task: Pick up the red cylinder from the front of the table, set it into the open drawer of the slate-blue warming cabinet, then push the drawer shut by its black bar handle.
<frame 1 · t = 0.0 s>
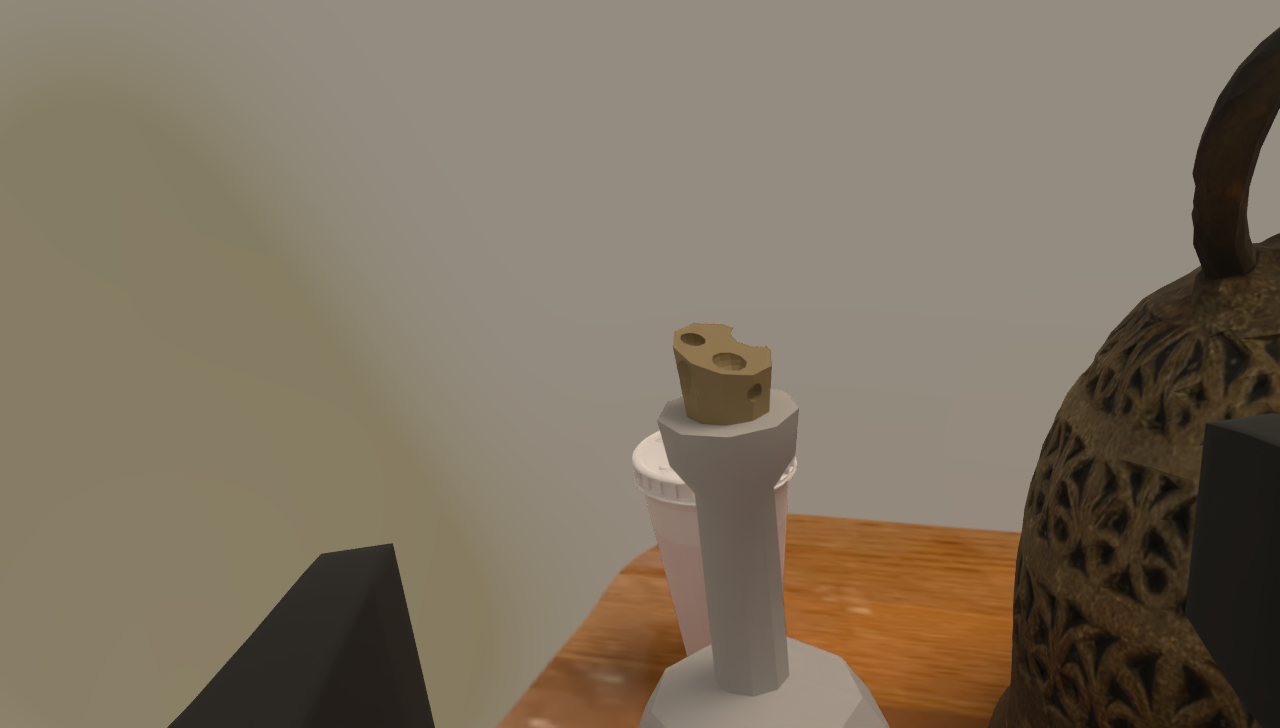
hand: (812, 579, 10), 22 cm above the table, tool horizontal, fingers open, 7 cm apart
smoothie: (734, 665, 46), on the table
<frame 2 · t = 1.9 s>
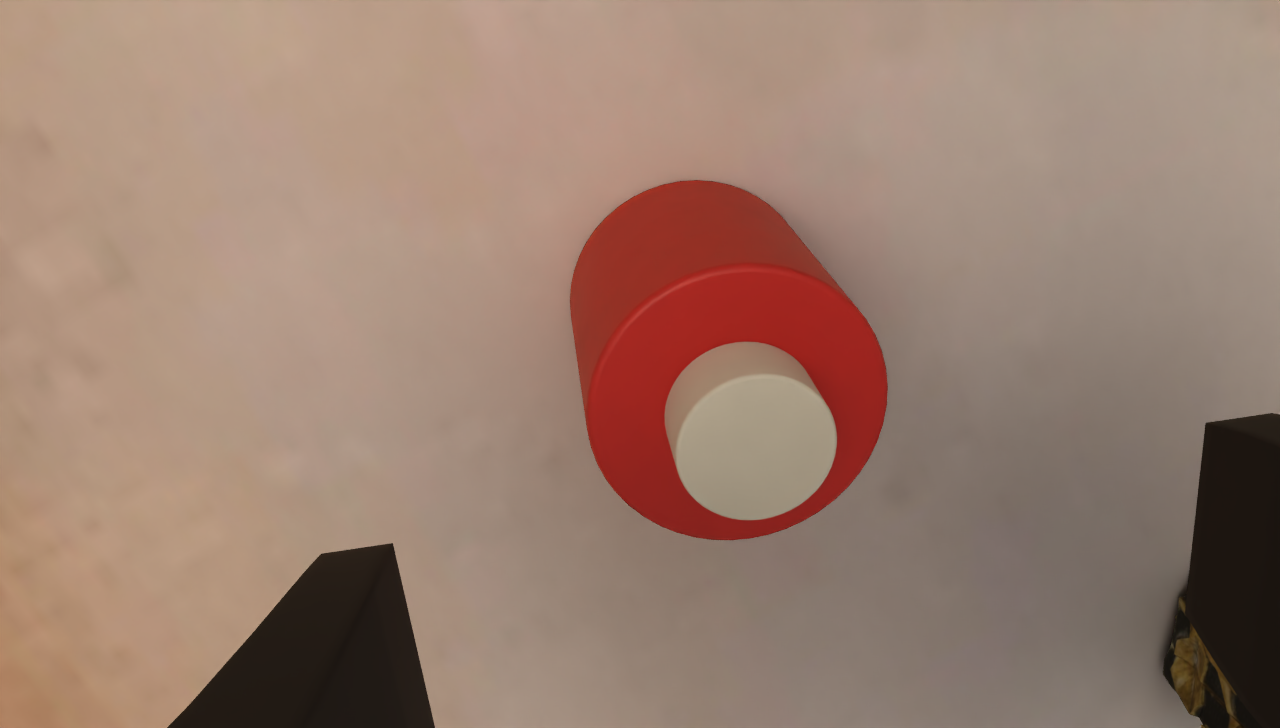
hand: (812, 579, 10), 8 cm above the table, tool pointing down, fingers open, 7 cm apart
red cylinder: (689, 297, 17), on the table
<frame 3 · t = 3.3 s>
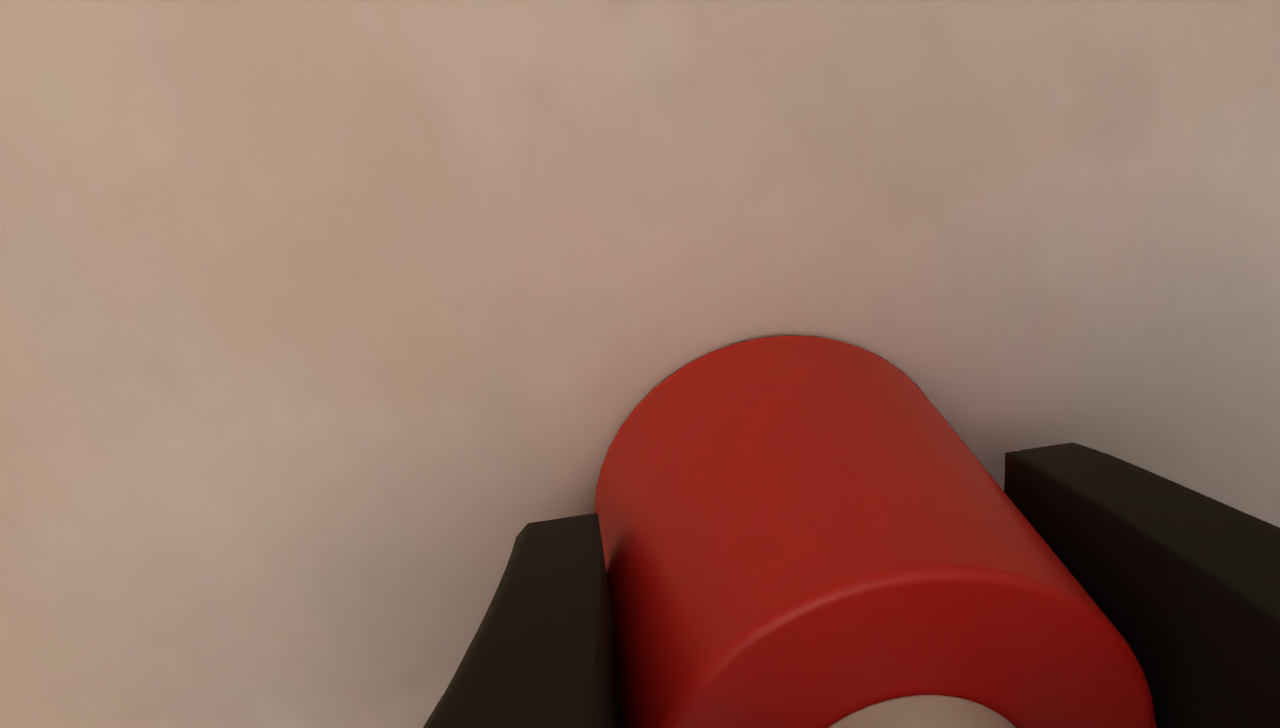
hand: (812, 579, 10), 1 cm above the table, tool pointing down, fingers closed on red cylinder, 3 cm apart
red cylinder: (774, 500, 11), on the table, touching gripper
when the fingers open (7 cm above the table, at t = 9.4 s): red cylinder stays where it is, resting on drawer.
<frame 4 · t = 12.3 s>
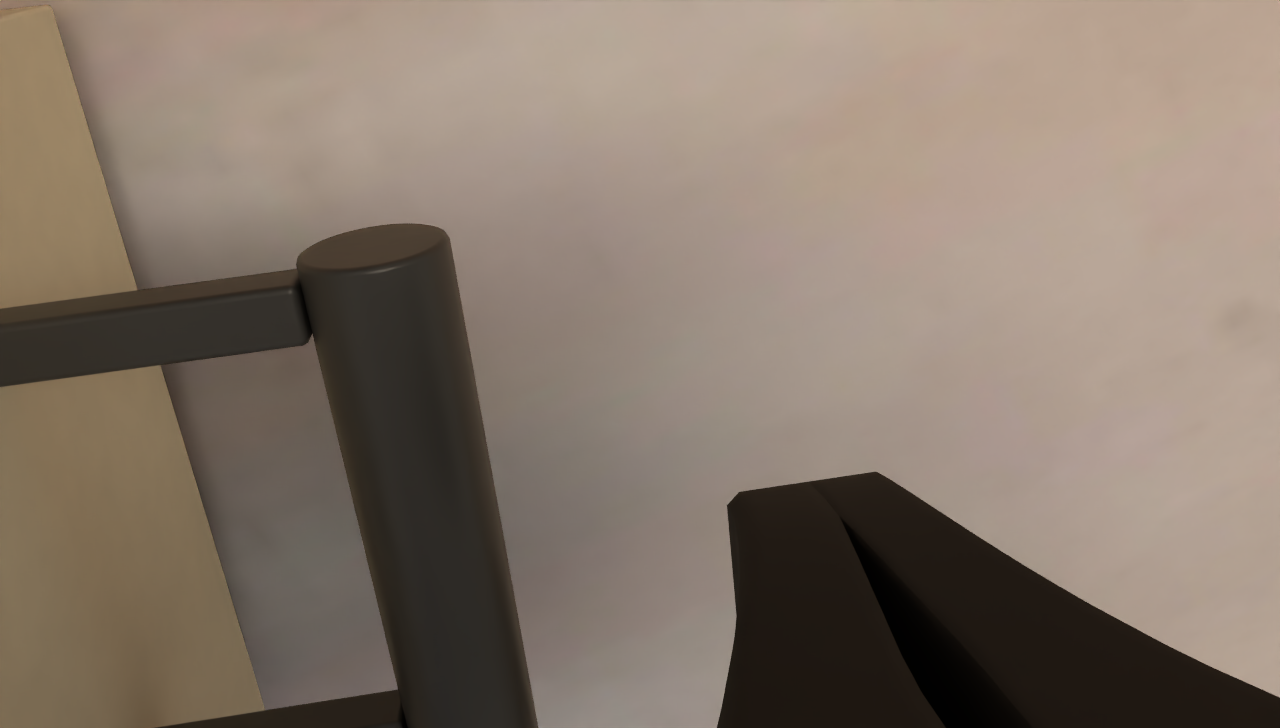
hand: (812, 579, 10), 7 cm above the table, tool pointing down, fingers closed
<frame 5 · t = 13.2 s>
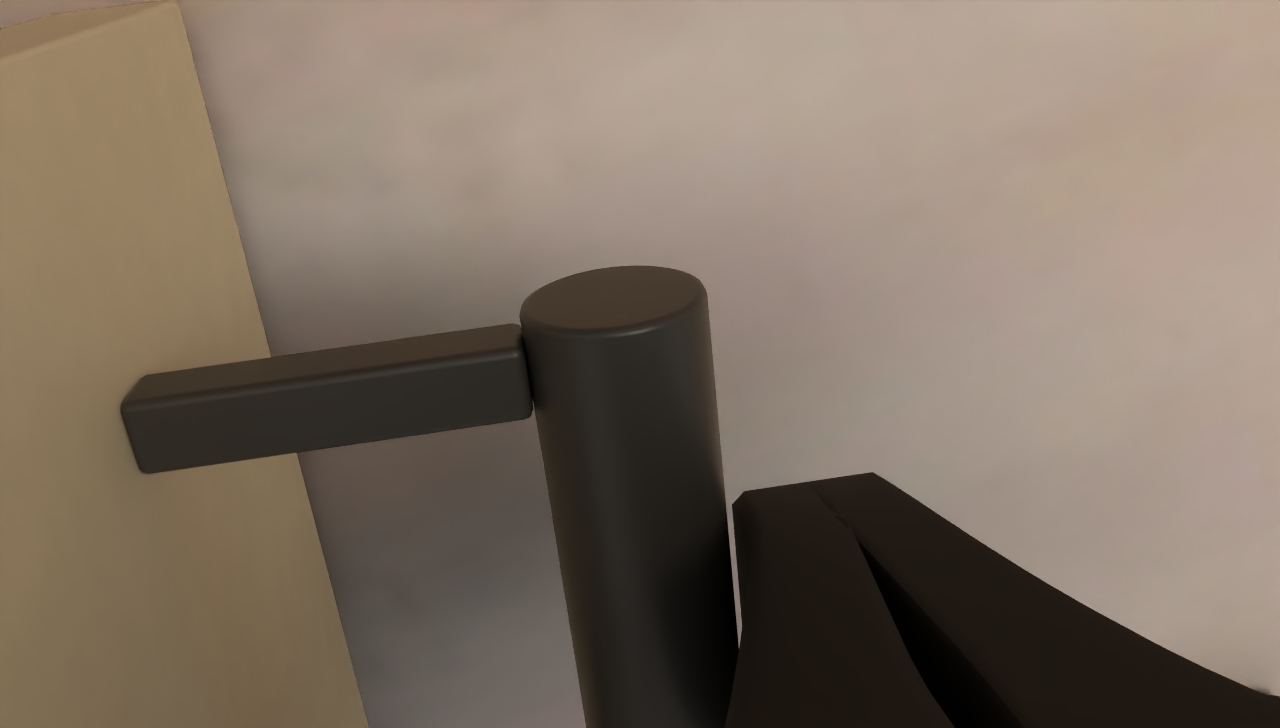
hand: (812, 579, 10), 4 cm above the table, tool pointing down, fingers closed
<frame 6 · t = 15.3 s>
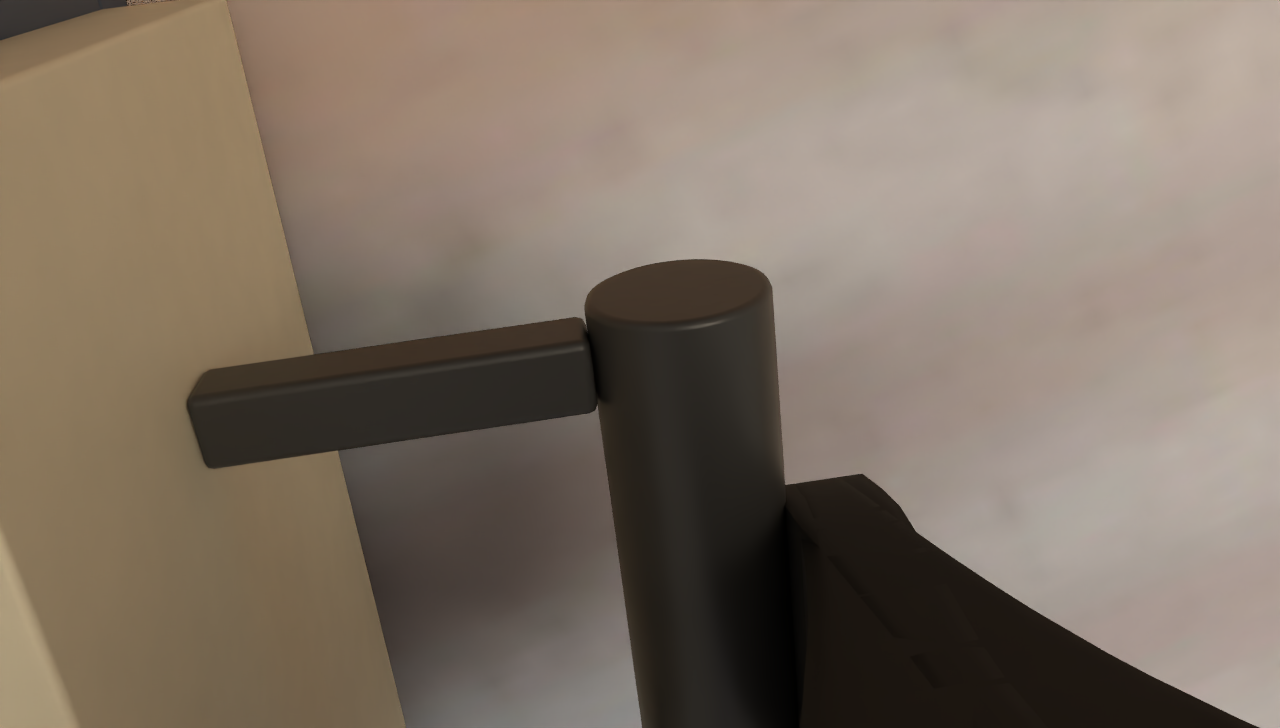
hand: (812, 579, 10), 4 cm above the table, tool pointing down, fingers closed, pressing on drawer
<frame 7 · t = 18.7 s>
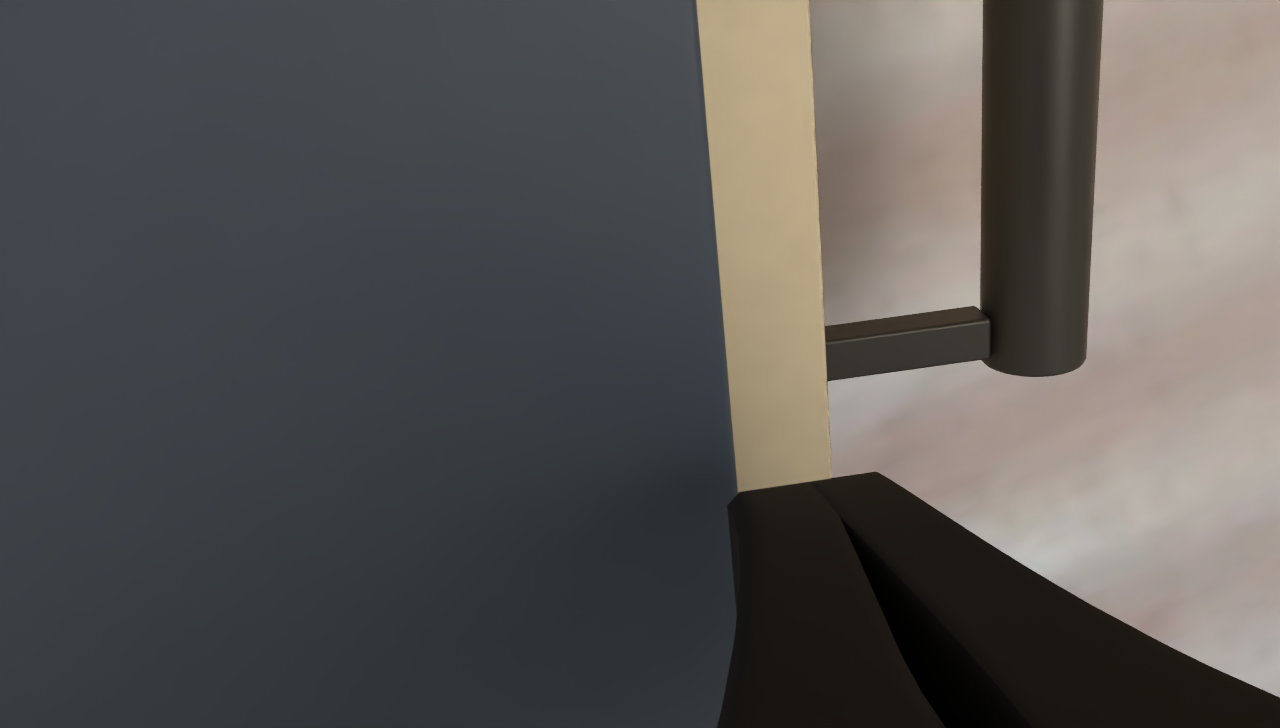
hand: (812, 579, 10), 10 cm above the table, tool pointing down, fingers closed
cabinet: (225, 179, 18), on the table
drawer: (446, 213, 15), point 4 cm above the table, slide at 0.0 cm, touching cabinet, red cylinder
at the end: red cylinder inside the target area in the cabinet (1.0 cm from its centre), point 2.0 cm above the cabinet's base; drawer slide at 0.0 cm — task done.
